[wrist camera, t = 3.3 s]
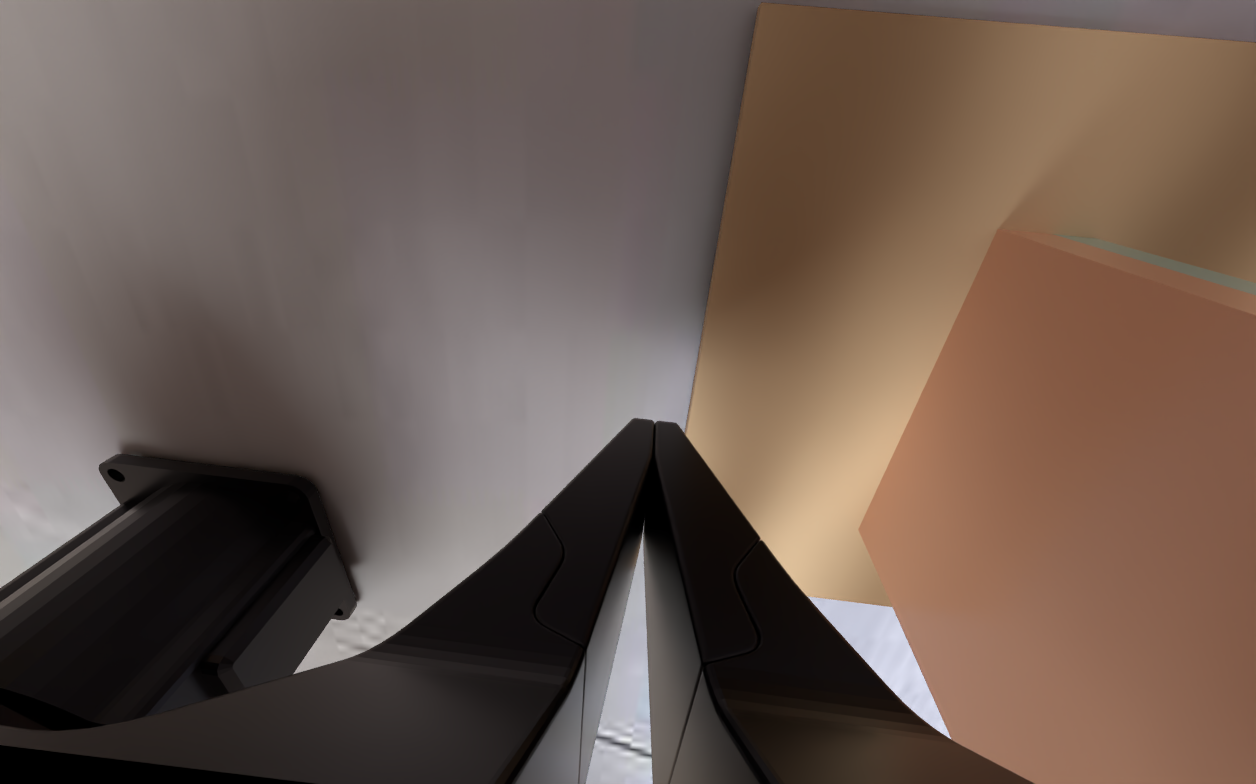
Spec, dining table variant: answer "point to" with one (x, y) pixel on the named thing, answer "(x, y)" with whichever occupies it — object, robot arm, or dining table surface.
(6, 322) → the dining table surface
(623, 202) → the dining table surface
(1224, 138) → the cork mat
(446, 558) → the dining table surface
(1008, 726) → the tile
